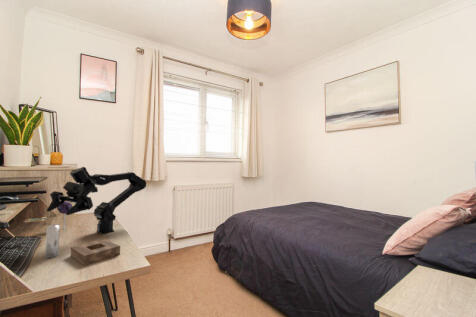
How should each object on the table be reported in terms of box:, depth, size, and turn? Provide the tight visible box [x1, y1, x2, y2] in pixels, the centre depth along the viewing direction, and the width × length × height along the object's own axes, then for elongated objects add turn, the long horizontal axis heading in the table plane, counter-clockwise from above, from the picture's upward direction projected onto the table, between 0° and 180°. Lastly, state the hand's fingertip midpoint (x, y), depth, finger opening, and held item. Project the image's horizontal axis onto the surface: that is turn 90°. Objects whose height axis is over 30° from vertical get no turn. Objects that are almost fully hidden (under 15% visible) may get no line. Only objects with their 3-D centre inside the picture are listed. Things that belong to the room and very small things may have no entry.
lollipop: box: [56, 201, 74, 230], centre depth 127 cm, size 7×7×15 cm
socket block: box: [70, 239, 121, 266], centre depth 92 cm, size 13×13×4 cm
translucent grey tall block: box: [45, 224, 61, 259], centre depth 91 cm, size 4×4×12 cm
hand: (56, 212), depth 100 cm, fingers open, 9 cm apart
